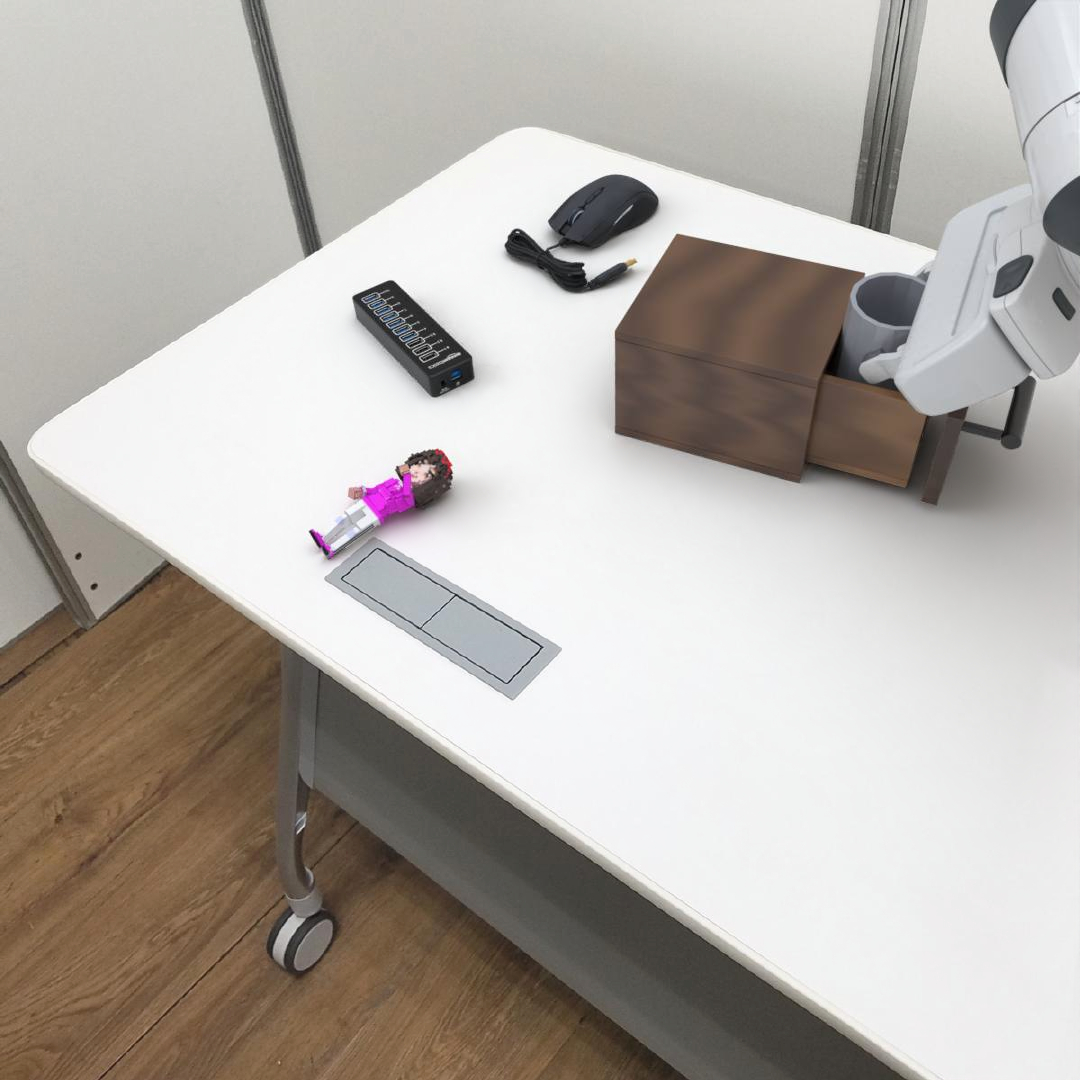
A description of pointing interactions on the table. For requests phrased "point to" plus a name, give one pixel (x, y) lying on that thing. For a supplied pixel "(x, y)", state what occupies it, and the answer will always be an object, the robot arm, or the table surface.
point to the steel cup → (877, 321)
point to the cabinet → (729, 353)
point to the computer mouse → (589, 227)
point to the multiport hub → (413, 338)
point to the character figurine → (389, 498)
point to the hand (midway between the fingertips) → (877, 337)
